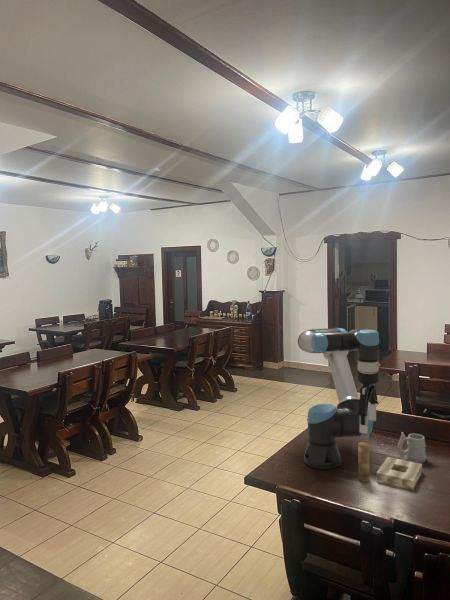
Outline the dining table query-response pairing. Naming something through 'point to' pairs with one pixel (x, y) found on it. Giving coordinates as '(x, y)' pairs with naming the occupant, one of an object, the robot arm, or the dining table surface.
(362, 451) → the leg
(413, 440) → the mug
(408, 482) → the wooden block with hole
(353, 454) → the dining table surface
